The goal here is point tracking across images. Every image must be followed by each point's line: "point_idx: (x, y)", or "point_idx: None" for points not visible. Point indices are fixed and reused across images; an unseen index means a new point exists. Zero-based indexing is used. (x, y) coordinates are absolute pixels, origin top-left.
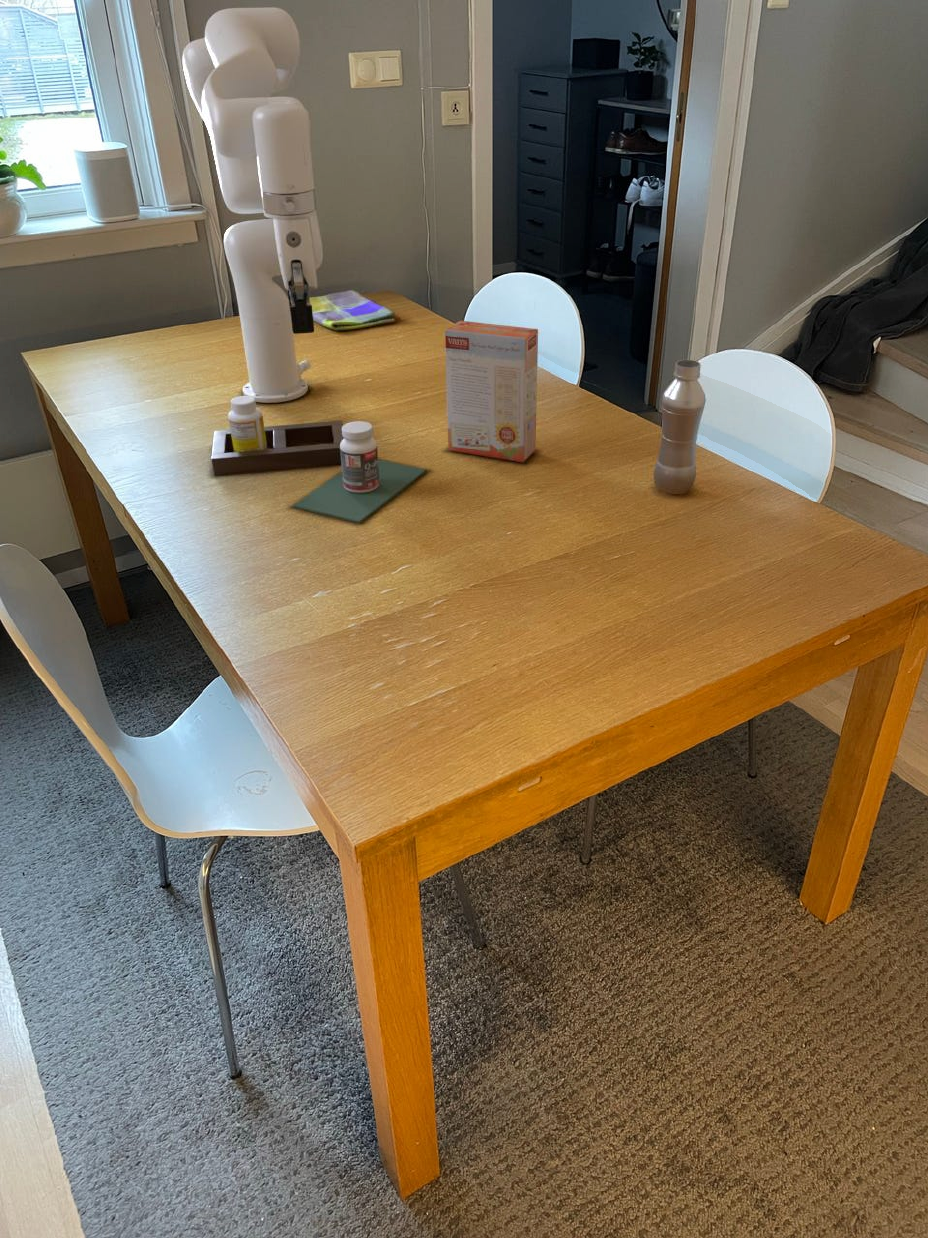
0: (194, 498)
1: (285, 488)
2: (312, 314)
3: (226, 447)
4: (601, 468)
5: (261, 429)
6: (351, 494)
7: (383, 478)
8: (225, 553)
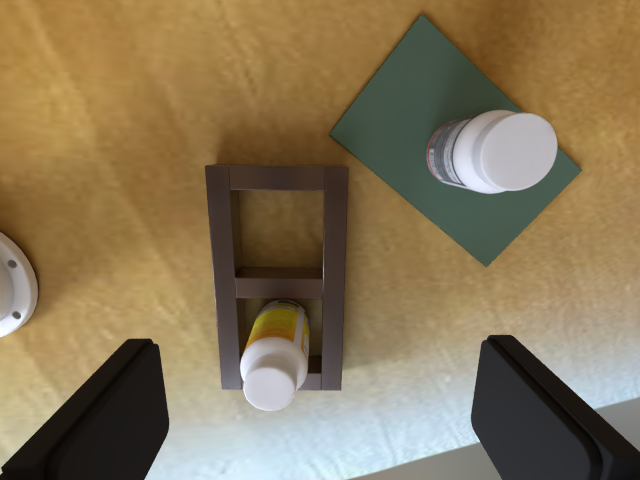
0: (407, 393)
1: (413, 274)
2: (581, 399)
3: None
4: None
5: (293, 328)
6: None
7: (437, 108)
8: (585, 353)
